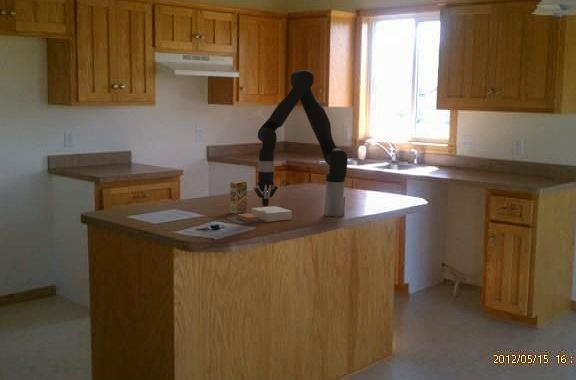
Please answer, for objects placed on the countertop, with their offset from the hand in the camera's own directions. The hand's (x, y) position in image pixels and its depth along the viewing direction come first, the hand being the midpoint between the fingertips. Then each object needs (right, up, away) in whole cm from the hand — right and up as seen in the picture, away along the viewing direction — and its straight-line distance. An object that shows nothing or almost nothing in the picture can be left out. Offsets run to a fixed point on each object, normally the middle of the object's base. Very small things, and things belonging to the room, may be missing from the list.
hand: (265, 206), depth 325 cm
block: (-8, -4, -5) cm, 10 cm away
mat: (-9, -6, -5) cm, 12 cm away
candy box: (-14, -4, +14) cm, 20 cm away
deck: (+3, -6, +3) cm, 7 cm away
